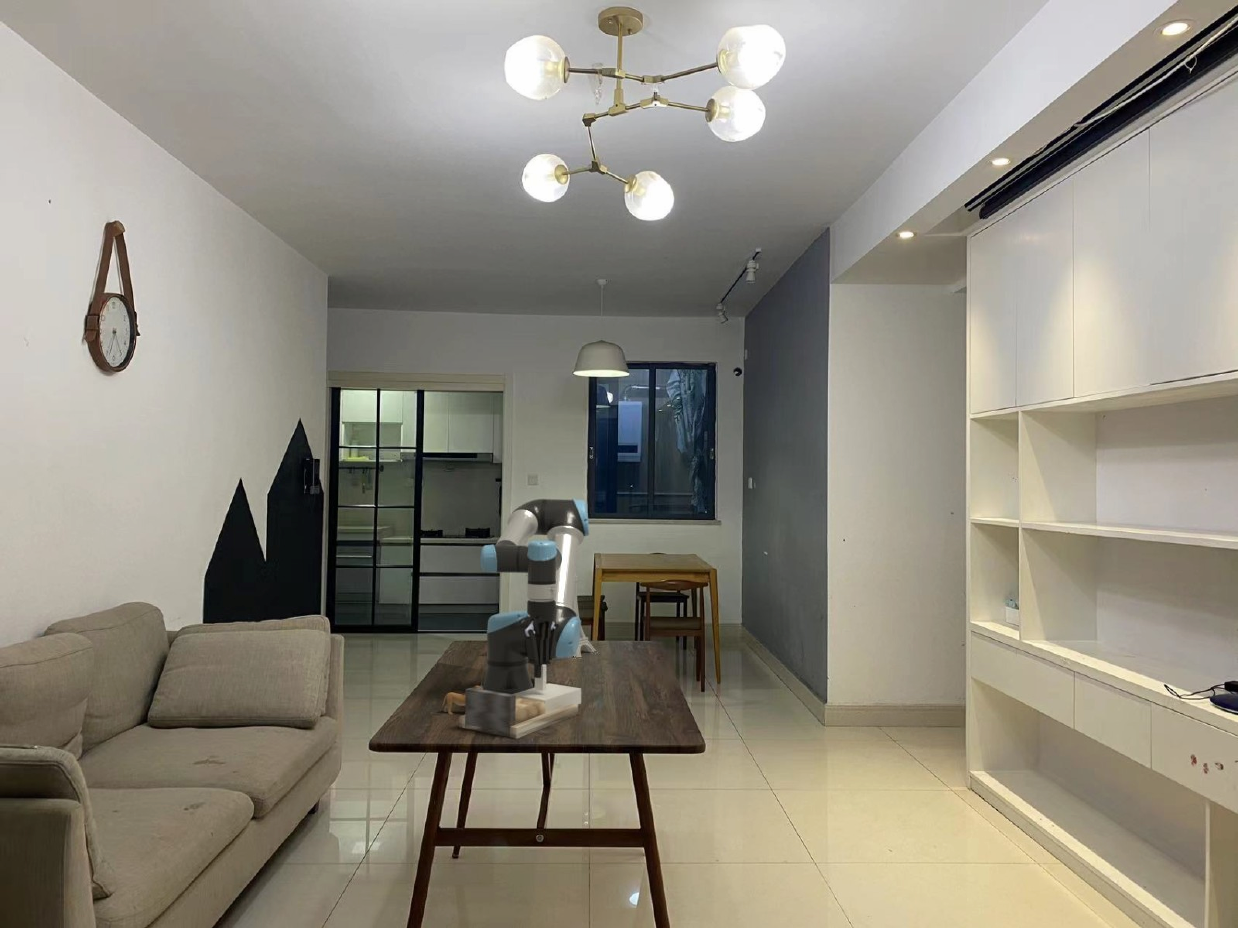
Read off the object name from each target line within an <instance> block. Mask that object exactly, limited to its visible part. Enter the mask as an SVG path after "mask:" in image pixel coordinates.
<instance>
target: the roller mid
mask: <svg viewBox="0 0 1238 928" xmlns="http://www.w3.org/2000/svg"><path fill="white" fill-rule="evenodd" d="M516 708H518V709H523V710H526V711H527V714H528V718H527V720H530V719H532V718H535V717H537V715H538V710H537V708H536V707H535V706H530V705H525V704H520V703H516Z"/></svg>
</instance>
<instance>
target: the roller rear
mask: <svg viewBox="0 0 1238 928" xmlns="http://www.w3.org/2000/svg"><path fill="white" fill-rule="evenodd" d="M516 703H520V704H525V705H530V706H535V707H536V708H537V710H538V715H537V717H538V716H541V715H543V714H545V709H546V708H545V704H544V703H543V702H539V701H533V700H527V699H522V698H516Z"/></svg>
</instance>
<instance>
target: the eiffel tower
mask: <svg viewBox="0 0 1238 928" xmlns="http://www.w3.org/2000/svg"><path fill="white" fill-rule="evenodd" d="M578 581H579V579H578V576H577V574H576V573H575V584H574V594H573V605H572V609H573V610H574V611H575V612H576V614H577V617H578V618H580V614H579V606H578V589H577V588H578V587H577V585H578V584H577V582H578ZM582 646H583V647H585V648H586V649H587V650H588V652H589V651H590V652H594V651H597V650H596V648H594V646H593V645H592V644H591V642H590V641H589V637H588V636H586V634H585V633H584V630H583V627H582V626H581V631H580V639H579V644H578V648H577V651H576V653H575V654H574V657H575V656H576V657H582V654H581V653H582V652H581V649H582V648H581V647H582Z"/></svg>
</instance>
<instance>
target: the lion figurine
mask: <svg viewBox="0 0 1238 928" xmlns="http://www.w3.org/2000/svg"><path fill="white" fill-rule="evenodd" d="M472 688H475V689H481V690H483V688H481V685H474V686H473V687H472ZM465 693H466V691H465V692H463V693H456V692H448V693H447V694H446V695H445V697H444V698H443V702H442V706H441V708H440V709H438V710H437V713H441V712H442V711H443V712H448V715H450V714H451V715H453V714H454V713H453V712H452V711H451V708H452V706H453V703H454V704H455V705H457V706H460V707H462V706H464V707H465Z"/></svg>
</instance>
